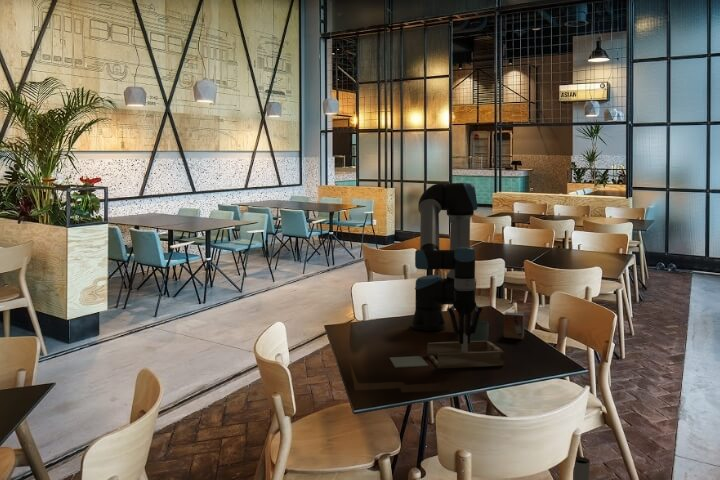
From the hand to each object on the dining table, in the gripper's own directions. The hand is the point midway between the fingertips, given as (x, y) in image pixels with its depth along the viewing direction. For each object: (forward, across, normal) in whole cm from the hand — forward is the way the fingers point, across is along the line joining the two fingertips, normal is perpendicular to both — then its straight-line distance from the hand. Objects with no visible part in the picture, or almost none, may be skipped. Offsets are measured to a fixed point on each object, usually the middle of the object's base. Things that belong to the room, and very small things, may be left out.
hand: (464, 352), depth 219 cm
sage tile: (+3, -21, +1) cm, 21 cm away
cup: (+4, +11, +17) cm, 20 cm away
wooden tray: (+3, 0, 0) cm, 3 cm away
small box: (+4, +31, +30) cm, 43 cm away
